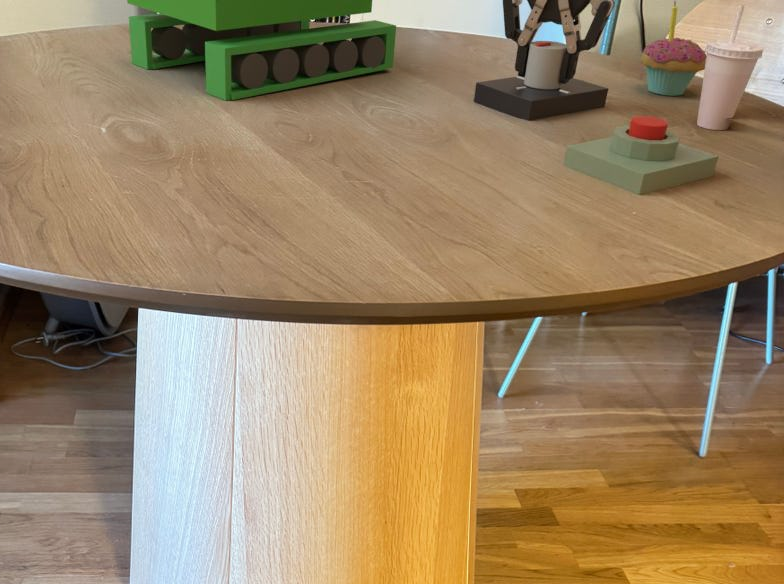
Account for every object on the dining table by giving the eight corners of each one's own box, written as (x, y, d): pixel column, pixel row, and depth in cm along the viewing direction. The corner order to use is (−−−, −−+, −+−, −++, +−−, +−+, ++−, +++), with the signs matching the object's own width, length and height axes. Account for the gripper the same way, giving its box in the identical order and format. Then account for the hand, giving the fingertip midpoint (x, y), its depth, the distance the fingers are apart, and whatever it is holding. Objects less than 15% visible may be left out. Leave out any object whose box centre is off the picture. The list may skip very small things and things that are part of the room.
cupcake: (659, 100, 119) (682, 6, 113) (621, 85, 126) (641, -5, 119) (710, 97, 121) (736, 5, 115) (670, 82, 128) (692, -6, 122)
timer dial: (540, 78, 117) (548, 37, 114) (569, 86, 113) (577, 44, 111) (515, 82, 114) (522, 40, 111) (543, 91, 111) (551, 47, 108)
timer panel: (548, 89, 122) (551, 70, 121) (604, 107, 115) (609, 87, 114) (473, 101, 115) (476, 81, 114) (528, 121, 108) (532, 99, 107)
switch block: (636, 149, 100) (644, 114, 98) (712, 176, 93) (723, 139, 91) (563, 165, 94) (570, 128, 92) (638, 195, 87) (648, 156, 85)
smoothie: (704, 115, 113) (736, -1, 106) (750, 128, 109) (787, 8, 101) (675, 122, 110) (706, 3, 102) (721, 136, 106) (757, 12, 98)
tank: (420, 67, 130) (432, -54, 122) (227, 101, 111) (225, -40, 103) (315, 37, 146) (319, -71, 138) (130, 62, 127) (122, -62, 118)
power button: (642, 130, 94) (646, 114, 93) (671, 140, 91) (675, 123, 90) (620, 135, 92) (624, 118, 91) (648, 144, 89) (652, 127, 89)
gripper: (500, -71, 105) (480, 75, 114) (621, -60, 99) (590, 94, 107) (522, -75, 110) (501, 65, 119) (637, -65, 104) (606, 82, 113)
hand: (543, 78), depth 113 cm, fingers closed on timer dial, 5 cm apart
